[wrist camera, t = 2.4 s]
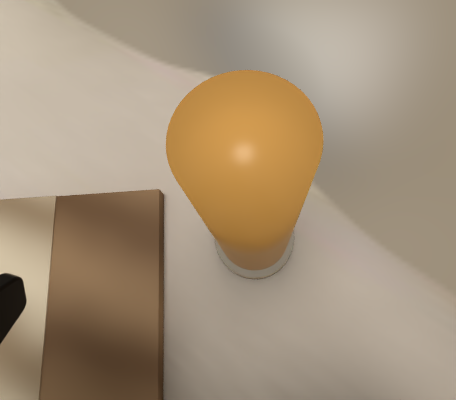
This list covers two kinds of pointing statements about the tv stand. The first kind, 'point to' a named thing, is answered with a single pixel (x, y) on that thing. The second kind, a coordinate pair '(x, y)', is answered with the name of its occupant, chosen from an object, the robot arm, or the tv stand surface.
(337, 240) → the tv stand surface
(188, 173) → the orange rounded post
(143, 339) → the subfloor panel
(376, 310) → the tv stand surface
